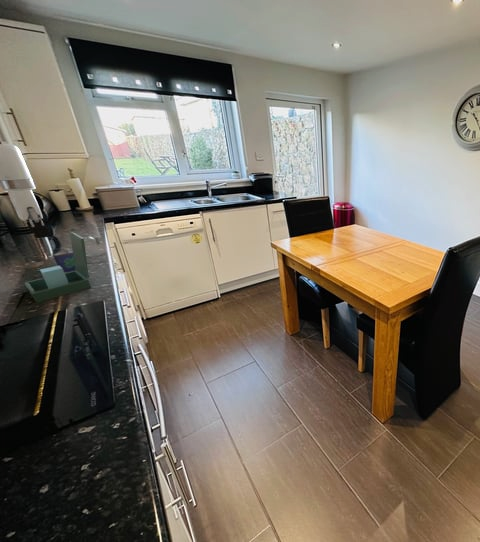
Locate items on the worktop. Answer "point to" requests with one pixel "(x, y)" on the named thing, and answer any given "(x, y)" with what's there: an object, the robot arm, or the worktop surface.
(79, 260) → the bin lid
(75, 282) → the green open tray
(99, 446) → the worktop surface
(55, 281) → the pale green block
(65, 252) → the purple box
